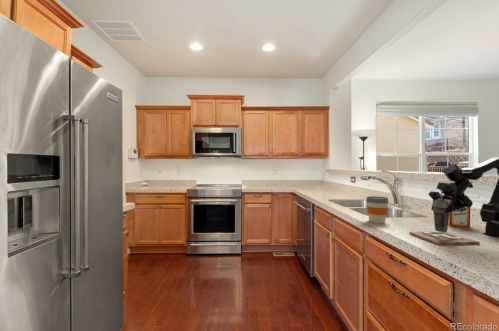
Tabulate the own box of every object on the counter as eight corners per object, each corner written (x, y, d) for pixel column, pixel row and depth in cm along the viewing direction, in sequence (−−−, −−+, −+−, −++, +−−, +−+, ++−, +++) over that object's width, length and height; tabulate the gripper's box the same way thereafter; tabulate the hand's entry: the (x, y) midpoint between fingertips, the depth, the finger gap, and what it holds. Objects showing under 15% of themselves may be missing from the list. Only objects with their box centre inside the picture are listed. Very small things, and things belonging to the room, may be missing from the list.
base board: (445, 233, 134) (445, 229, 134) (479, 244, 116) (479, 239, 116) (409, 234, 132) (409, 230, 132) (438, 245, 114) (438, 240, 114)
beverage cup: (431, 231, 124) (431, 190, 124) (432, 228, 130) (432, 188, 129) (450, 233, 119) (451, 191, 119) (450, 230, 125) (451, 189, 125)
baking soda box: (465, 225, 153) (465, 198, 152) (470, 227, 147) (470, 199, 146) (446, 223, 156) (446, 197, 156) (449, 226, 150) (450, 198, 150)
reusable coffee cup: (368, 223, 156) (368, 198, 156) (364, 218, 168) (364, 195, 168) (391, 224, 153) (391, 199, 153) (385, 219, 165) (385, 196, 165)
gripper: (431, 175, 134) (413, 197, 132) (467, 177, 116) (446, 202, 114) (444, 190, 136) (426, 212, 134) (481, 194, 117) (461, 219, 115)
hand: (438, 211), depth 124 cm, fingers closed on beverage cup, 7 cm apart
